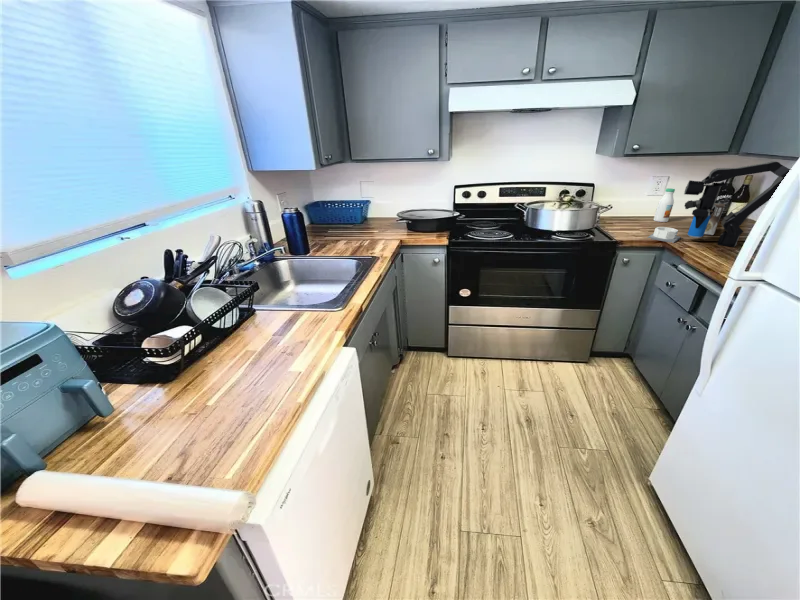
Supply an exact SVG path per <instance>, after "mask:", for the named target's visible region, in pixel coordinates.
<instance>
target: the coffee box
mask: <svg viewBox="0 0 800 600" xmlns="http://www.w3.org/2000/svg"><path fill="white" fill-rule="evenodd" d="M714 205H716V210H715V211H713V210H710V212H713V214H712V215H711V216H710V219H709V222H708V225H707V227H706V230H705V233H704V235H710V236H713V235H714V234H715V233H716V229H717V227H718V225H719V223H720V219H721V216H722V214H723V212H724V211H723V210H724V209H725V207H726V204H725V203H716V202H715V204H714Z"/></svg>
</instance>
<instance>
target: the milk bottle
mask: <svg viewBox="0 0 800 600" xmlns="http://www.w3.org/2000/svg"><path fill="white" fill-rule="evenodd" d="M675 191H676V189H675V188H665V191H664V195H663V196H662V197H661V198H660V199H659V201H658V204H657V206H656V207H657V208H656V210H655V213H654V216H653V221H655V222H658V223H666V222H668V221H669V218H670V215H671V213H672V210H673V207H674V205H675V204H674V203H675V202H674V201H675V199H674V193H675Z"/></svg>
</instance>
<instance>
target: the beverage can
mask: <svg viewBox="0 0 800 600" xmlns="http://www.w3.org/2000/svg"><path fill="white" fill-rule="evenodd" d="M709 219H710V214H709V216H708V217H707V218H706V220H705V221H704V222H703V223H702V224H701V225H700V226H699V228H695V225H696V217H695V216H693V218H692V221H691V224H690V226H689V228H688V231H687V235H688V237H690V238H696V239H697V238H698V239H699V238H703V237H704V235H705V234H704V233H705V230H706V227H707V225H708V222H709Z"/></svg>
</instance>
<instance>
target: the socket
mask: <svg viewBox="0 0 800 600" xmlns="http://www.w3.org/2000/svg"><path fill="white" fill-rule="evenodd" d="M678 232H679V229H676V228H673V227H669V226H668V227H666V226H657V227H655V229H654V232H653V233H651V234H650V235H649V236H647V239H648V238H651V239H650V240H654V241H661V242H666V243H671V242H672V243H673V244H674V243H676V242H677V241H679V240H680V239H681V236H679V235H678Z"/></svg>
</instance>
